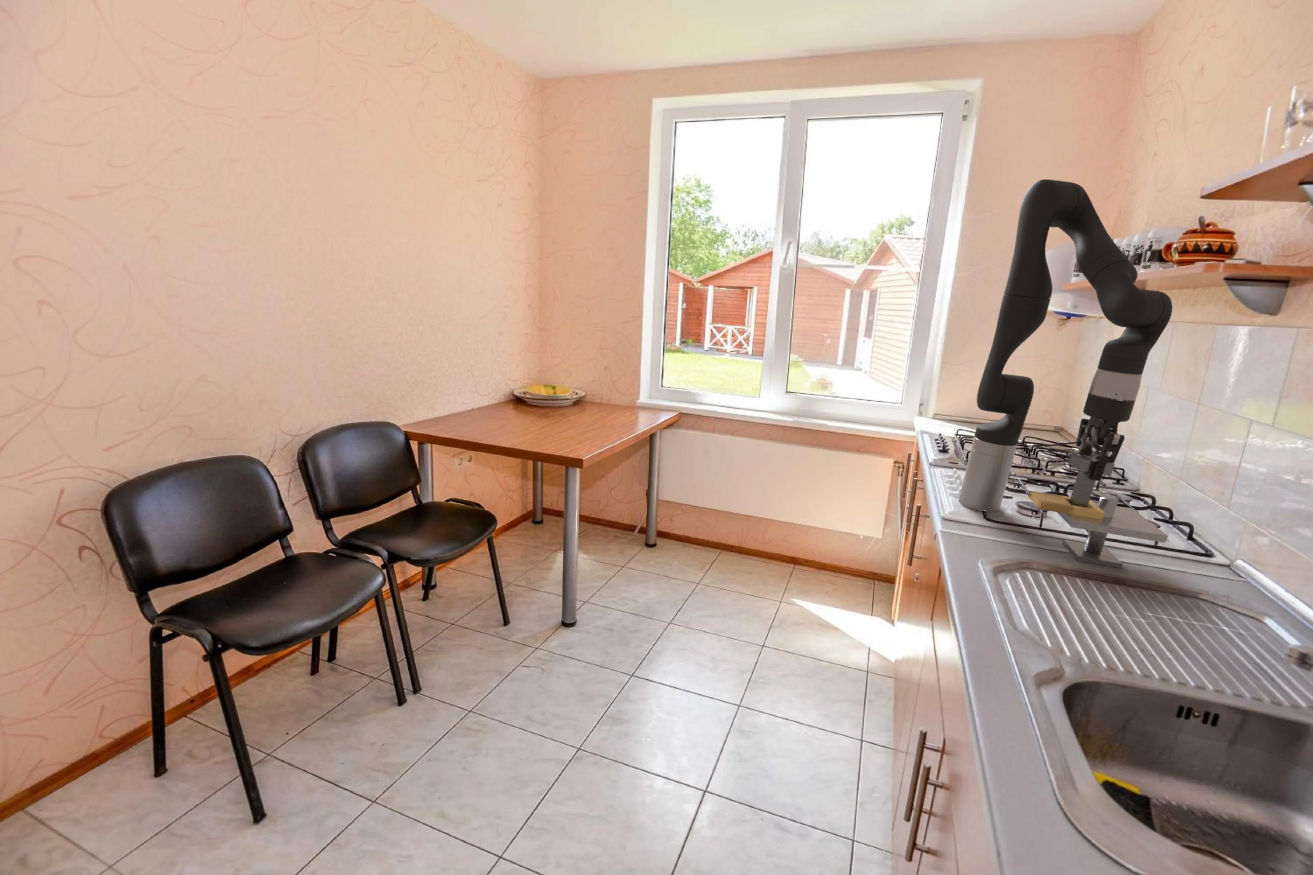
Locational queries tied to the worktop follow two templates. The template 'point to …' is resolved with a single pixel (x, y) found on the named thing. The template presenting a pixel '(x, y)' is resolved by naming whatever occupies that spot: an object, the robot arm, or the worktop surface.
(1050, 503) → the bracket
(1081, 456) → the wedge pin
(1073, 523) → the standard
